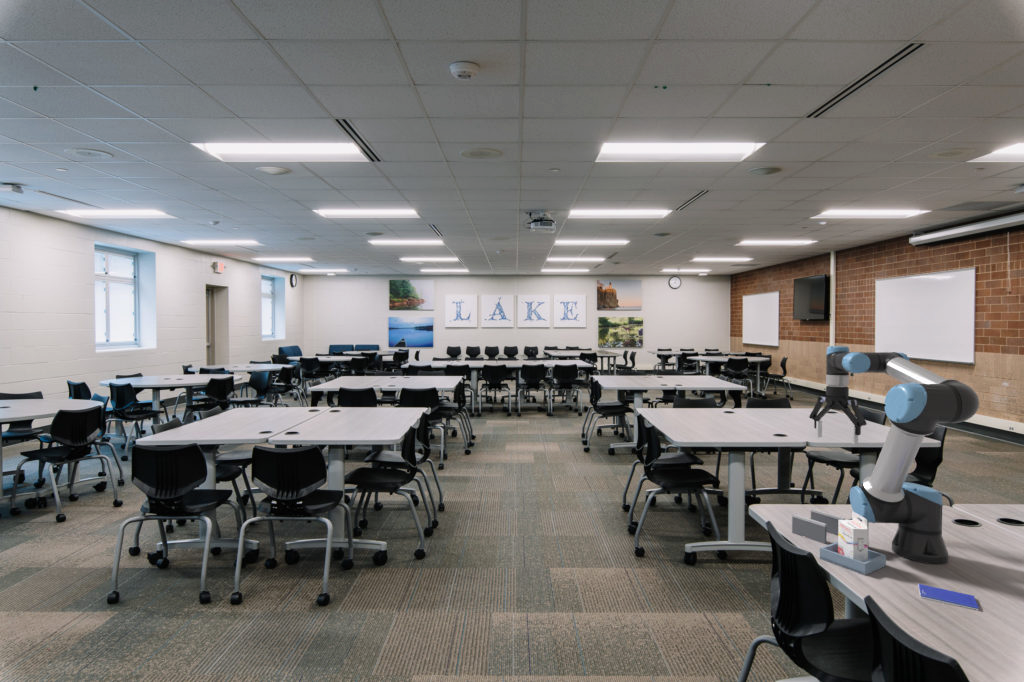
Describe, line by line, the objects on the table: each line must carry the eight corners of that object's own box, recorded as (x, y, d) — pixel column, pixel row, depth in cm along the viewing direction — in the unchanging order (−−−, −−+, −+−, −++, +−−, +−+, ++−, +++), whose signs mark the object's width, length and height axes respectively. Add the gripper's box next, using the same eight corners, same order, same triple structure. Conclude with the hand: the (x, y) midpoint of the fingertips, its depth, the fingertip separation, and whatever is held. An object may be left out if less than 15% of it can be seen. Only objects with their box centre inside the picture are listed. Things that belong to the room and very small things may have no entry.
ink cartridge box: (836, 554, 176) (837, 510, 175) (851, 554, 176) (852, 510, 175) (852, 565, 167) (853, 519, 167) (868, 565, 167) (869, 519, 167)
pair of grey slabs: (845, 536, 193) (845, 518, 193) (824, 543, 186) (824, 524, 186) (812, 526, 203) (812, 508, 203) (791, 532, 197) (792, 514, 197)
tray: (886, 566, 169) (886, 555, 169) (864, 575, 162) (865, 563, 162) (841, 550, 181) (841, 540, 181) (819, 558, 174) (819, 548, 174)
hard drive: (920, 594, 149) (978, 607, 142) (918, 582, 155) (973, 594, 148) (920, 599, 149) (978, 613, 142) (917, 588, 155) (973, 600, 148)
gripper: (877, 388, 196) (876, 445, 197) (811, 382, 218) (810, 433, 218) (867, 389, 192) (866, 447, 193) (800, 383, 214) (799, 435, 214)
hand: (836, 440), depth 205 cm, fingers open, 13 cm apart
